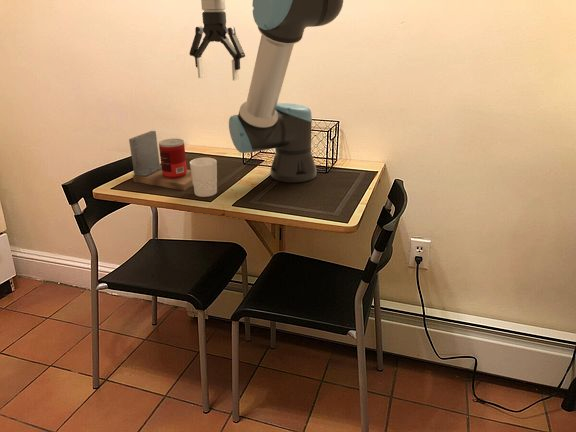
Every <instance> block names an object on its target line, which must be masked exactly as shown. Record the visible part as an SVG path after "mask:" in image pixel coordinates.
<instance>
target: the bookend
mask: <svg viewBox="0 0 576 432" xmlns="http://www.w3.org/2000/svg"><path fill="white" fill-rule="evenodd" d="M128 141H129V147H130V155H131V162H132V167H133V175H135V176H141V177H147V176H149V175H152V174H154V173H156V172H158V171H160V170H162V166H161V161H160V153H159V145H158V139H157V132H156V131H155V130H150V131H147V132H144V133H141V134H140V135H136V136H134V137H131V138H129V139H128Z"/></svg>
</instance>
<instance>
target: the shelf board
mask: <svg viewBox="0 0 576 432" xmlns="http://www.w3.org/2000/svg"><path fill="white" fill-rule="evenodd" d="M132 179H133V182H134V183H138V184H139V183H140V184H146V185H151V186H157V187H163V188H169V189H174V190H179V191H180V190H181V191H187V190H188V189H190V188H192V187H194V186H193V182H192V176H191V169H187V173H186V175H185V176H183V177H181V178H176V179H169V178H165V177H164V176H163V174H162V170H160V171H158V172H156V173H154V174H152V175H149V176H147V177H141V176H135V175H134V174H133V175H132Z"/></svg>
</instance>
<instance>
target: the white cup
mask: <svg viewBox="0 0 576 432" xmlns="http://www.w3.org/2000/svg"><path fill="white" fill-rule="evenodd" d="M217 162H218V161H217V159H215V158H213V157H197V158H194V159H192V160H190V161H189V167H190V169H189V170H191V176H192V182H193V186H192V187H193V190H194V191H193V192H194V195H195V196H197V197H201V198H204V197H205V198H206V197H213V196H215V195H216V194H217V193H218V169H217V168H218V165H217V164H218V163H217Z"/></svg>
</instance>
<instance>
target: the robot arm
mask: <svg viewBox="0 0 576 432" xmlns="http://www.w3.org/2000/svg"><path fill="white" fill-rule="evenodd" d="M200 1H201V2H200V3H201V11H203V12H202V23H203V26H196V27H195V28H194V29H195V32H194V33H195V34H194V38H193V41H192V43H191V47H190V50H189V56H192V57H194V60H195V61H194V62H195V67H196V69H197V76H198V79H204V78H205V77H206V76H205V63H204V57H203V56H202V55H203V53H204V52H205V50H206V49H207V47H208V45H209V44H210V43H213V42H216V43H221V44H222V45H223V46H224V48H225V49H226V50H227V52H228V53H229V55H230V56H231V57H232V59H231V72H232V74H231V75H232V81H238V80H239V79H240V76H239V70H241V59H243V58H245V57H246V53H245V51H244V50H243V48H242V45H241V43H240V40H239V38H238V36H237V33H236V28H235V27H234V26H232V27H227V26H226V25H227V13H226V11H224V10H226V0H200ZM343 5H344V0H252V6H251V7H253V8H252V16H253V20H254V22H255V24H256V26H257V29H258V31H259V33H260V34H261V37H260V41H259V45H258V50H257V55H256V59H255V63H254V66H253V72H252V76H251V81H250V85H249V89H248V94H247V99H246V101H244V102H243V103H242V104H240V107H239V110H238V114H234V115H231V116H230V117H229V119H228V129H229V135H230V139H231V141H232V143H233V146H234V147H235V149H236V150H237V151H238V152H239V153H241V154H249V153H250V154H251V153H255V152H260V151H267V150H273V149H275V153H274V155H273V156H274V157H273V159H272V163H271V166H270V177H271V178H272V179H274V180H275V181H279V182H283V183H304V182H308V181H311V180H314V179H315V178H316V177H317V166H316V164H315V161H314V157H313V153H312V126H313V125H312V124H313V119H312V111H311V108H309V106H305V105H303V104H297V103H287V102H278V101H279V98H280V94H281V91H282V87H283V84H284V80H285V77H286V73H287V69H288V66H289V62H290V59H291V56H292V52H293V49H294V46H295V44H297V43H300V42H301V40H302V39H303V35H304V32H305V29H306V28H310V27H311V28H312V27H313V28H315V27H323V26H325V25H328V24H330V23H332V22H333V21H334V20H335V19H336V18H338V16H339V15H340V13H341V11H342V8H343ZM203 34H204V37H203ZM227 35H228V36H227ZM202 37H203V39H202ZM228 37H229V38H228ZM229 39H230V40H229ZM201 40H202V41H201ZM230 41H231V42H230Z"/></svg>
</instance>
